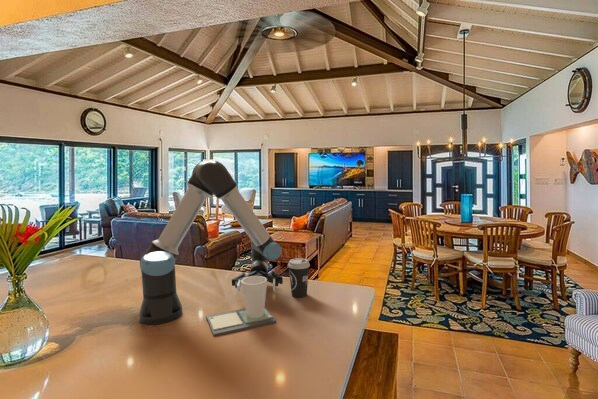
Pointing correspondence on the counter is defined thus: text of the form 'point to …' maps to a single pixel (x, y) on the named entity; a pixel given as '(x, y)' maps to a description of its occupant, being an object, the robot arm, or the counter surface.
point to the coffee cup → (298, 277)
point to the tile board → (237, 321)
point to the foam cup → (254, 295)
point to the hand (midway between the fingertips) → (256, 288)
